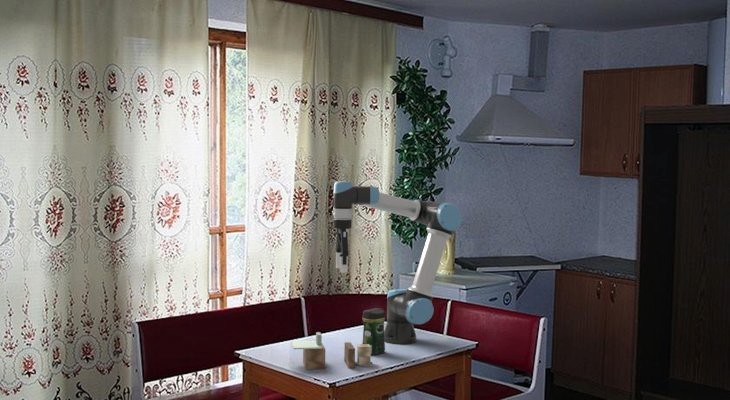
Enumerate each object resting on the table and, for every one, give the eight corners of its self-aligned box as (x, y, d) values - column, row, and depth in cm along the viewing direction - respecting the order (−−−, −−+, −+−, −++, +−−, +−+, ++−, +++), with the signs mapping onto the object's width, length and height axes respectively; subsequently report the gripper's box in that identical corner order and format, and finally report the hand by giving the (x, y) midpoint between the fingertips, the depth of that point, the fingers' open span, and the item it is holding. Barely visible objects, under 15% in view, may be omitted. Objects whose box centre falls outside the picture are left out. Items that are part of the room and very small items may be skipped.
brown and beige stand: (350, 360, 315) (350, 342, 315) (354, 367, 304) (355, 348, 304) (302, 362, 312) (303, 343, 312) (305, 369, 301) (305, 349, 301)
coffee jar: (373, 349, 336) (374, 306, 335) (387, 352, 330) (388, 308, 329) (358, 353, 328) (359, 308, 328) (372, 356, 323) (373, 311, 322)
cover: (319, 342, 313) (319, 330, 313) (322, 348, 302) (322, 336, 301) (291, 342, 311) (291, 331, 311) (293, 349, 300) (293, 337, 299)
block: (368, 361, 313) (368, 344, 313) (370, 364, 308) (370, 346, 308) (357, 361, 312) (357, 344, 312) (359, 364, 308) (359, 347, 307)
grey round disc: (371, 361, 314) (371, 360, 314) (374, 366, 308) (374, 365, 308) (353, 362, 313) (353, 361, 313) (356, 366, 306) (356, 365, 306)
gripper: (329, 216, 336) (328, 266, 337) (337, 221, 311) (336, 274, 312) (346, 216, 337) (346, 266, 338) (356, 221, 313) (355, 274, 314)
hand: (341, 270), depth 325 cm, fingers open, 13 cm apart
